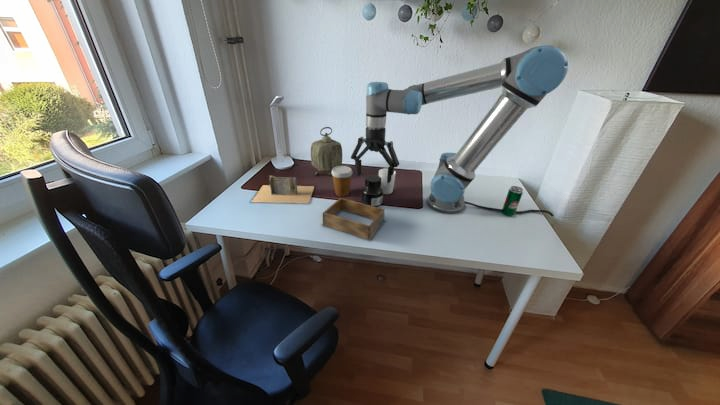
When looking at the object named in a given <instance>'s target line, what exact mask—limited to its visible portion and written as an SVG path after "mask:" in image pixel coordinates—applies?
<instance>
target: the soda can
mask: <svg viewBox="0 0 720 405" xmlns="http://www.w3.org/2000/svg"><path fill="white" fill-rule="evenodd" d="M523 194H524V189H523V188H522V187H521V186H517V185H511V186H510V188H508V191H507V194H506V197H505V200H504V203H503V205H502V211H501V213H502V214H503V215H504V216H507V217H513V216H515V215H516V214H517V213H516V211H518V207H519V205H520V202H521V199H522V197H523Z"/></svg>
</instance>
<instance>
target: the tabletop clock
mask: <svg viewBox="0 0 720 405" xmlns="http://www.w3.org/2000/svg"><path fill="white" fill-rule="evenodd" d="M326 129H330V130H331V131H330V132H329V133H328V132H325V133H324V134H322V131H323V130H326ZM332 133H333V129H332V127H330V126H325V127H323V128H321V129H320V132H319V134H320V135H321V136H322V138H321V139H318V140H315V141H313V142H312V143H311V145H310V161H311V162H310V163H311V165H312V167H314V168H315V169H317V171H315V173H314V174H315V176H319V172H328V176H330V177H332V176H333V175H332V174H331V171H332V169H333V168H334V167H337V166H343V165H342V164H343V147H342V144H341V142H339V141H338V140H335V139H332V137H331V136H330V135H331V134H332Z"/></svg>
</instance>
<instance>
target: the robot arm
mask: <svg viewBox="0 0 720 405" xmlns="http://www.w3.org/2000/svg"><path fill="white" fill-rule="evenodd" d="M568 68H569V60H568V58H567V55H566V54H565V53H564V51H562V50H561V49H560V48H559V47H555V46H554V45H550V44H548V45H547V44H546V45H545V44H544V45H543V44H542V45H539V46H534V47H531V48H529V49H527V50H524V51H522V52H520V53H516V54H515V55H511V56H508V57H504V58H503V59H502V61H501V62H499V63H494V64H491V65H487V66H482V67H479V68H475V69H471V70H468V71H465V72H460V73H457V74H453V75H449V76H446V77H441V78H438V79H434V80H430V81H426V82H423V83H419V84H412V85H410V86H408V87H407V88H404V89H391V88H390V87H389V84H388V82H384V81H371V82H369V83H368V84H367V86H366V95H365V99H366V100H365V102H366V103H365V105H366V106H365V108H366V109H365V138H364V136H360V137H358V138H357V143H356V145H355V148H354V150H353V152H352V154H351V155H350V159H351V160H354V168H355V169H356V177H360V176H361V175H362V159H361V158H362V157H363V156H364V155H365V154H366V153H367V152H368V151H370V152H375V153H379V154H380V155H381V156H382V157H383V159H384V160H385V162H386V164H387V165H388V167H387V169H388V176H387V183H389V182H390V181H391V176H392V175H393V174H394V171H395V168H398V167H399V166H400V160H399V159H398V156H397V154H396V151H395V148H394V142H393V141H392V140H391V141H386V131H387V130H386V126H387V114H388V113H395V114H402V115H403V114H405V115H418V114H419V113H420V112H421V109H422V106H424V105H429V104H432V103H437V102H442V101H446V100H447V101H448V100H451V99H455V98H458V97H459V98H460V97H464V96H468V95H474V94H478V93H482V92H487V91H492V90H496V89H501V94H500V95H499V96H498V98H497V99H496V100H495V102H494V103H493V104H492V105H491V107H490V108H489V110H488V111H487V112H486V114H485V115H484V116H483V118H482V119H481V120H480V122H479V123H478V124H477V125H476V127H475V128H474V130H472V132H471V134H470V135H469V136H468V138H467V139H466V140H465V142H464V143H463V144H462V146H461V147H460V148H459V150H457V152H443V153H441V154H440V158H439V162H438V167H437V168H436V171H435V173H434V176H433V177H432V179H431V181H430V186H429V188H430V192H431V193H430V194H429V196H428V199H427V204H428V206H429V207H430V208H432V209H433V210H435V211H437V212H440V213H444V214H457V213H460V212H462V211H463V210H464V208H465V205H469V206H473V207H476V208H480V209H483V210H489V211H495V212H502V209H503V208H502V209H501V208H496V207H489V206H483V205H480V204H479V205H478V204H475V203H472V202H469V201H465V196H464V194H465V191H466V189H467V187H468V186H469V185H470V184H471V183H472V182H473V181H474V179H475V178H476V171H477V169H478V168H479V166H481V164H482V163H483V162H484V160H485V159H487V157H488V156H489V155H490V153H491V152H492V151H493V150H494V149H495V148H496V147H497V145H498V144H499V143H500V142H501V140H502V139H503V138H504V137H505V136H506V134H508V132H509V131H510V130H511V128H512V127H513V126H514V125H515V124H516V123H517V121H519V119H520V118H521V117H522V115H523V114H524V113H525V112H526V111H527V110H528V109H531V108H536V107H538V105H539V104H540V103H541V102H542V100H544V98H545V97H546V96H547V95H548V94H550V93H551V92H553V91H555V90H556V89H557V88H558V87H559V86H560V85H561V84H562V83H563V81H564V80H565V78H566V76H567V73H568ZM364 143H365V145H366V146H365V147H364V148H363V149H362V151H361V152H360V153H359V151H360V149H361V148H362V146H363V144H364ZM386 148H387V149H386ZM387 150H388V152H387ZM358 153H359V154H358ZM526 213H546V214H549V215H550V216H551V217H555V215H554V214H553V213H552V212H551V211H549V210H545V209H526V210H516V213H515V214H526Z"/></svg>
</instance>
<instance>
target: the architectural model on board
mask: <svg viewBox="0 0 720 405" xmlns="http://www.w3.org/2000/svg"><path fill="white" fill-rule="evenodd" d="M268 177H269V179H268V181H269V184H263V185H262V186H261V187H260V189H259V190H258V192H257V193H256V195H255V196H254V197H253V199H252V200H251V203H269V204H270V203H271V204H273V203H275V204H276V203H277V204H279V203H280V204H310V202H311V198H312V195H313V192H314V189H315V185H298V183H297V177H290V176H289V177H288V176H287V177H286V176H285V177H283V176H275V175H268Z"/></svg>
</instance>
